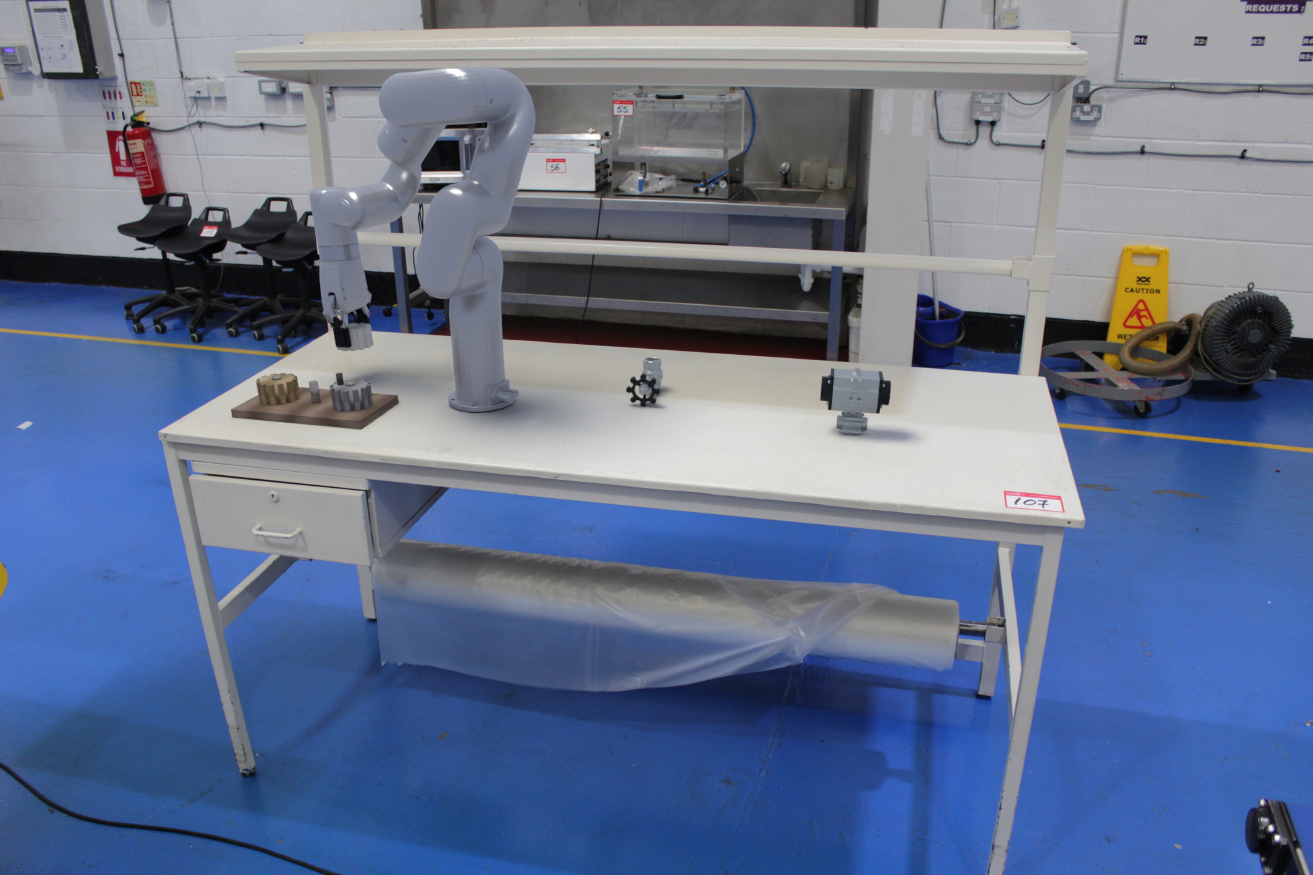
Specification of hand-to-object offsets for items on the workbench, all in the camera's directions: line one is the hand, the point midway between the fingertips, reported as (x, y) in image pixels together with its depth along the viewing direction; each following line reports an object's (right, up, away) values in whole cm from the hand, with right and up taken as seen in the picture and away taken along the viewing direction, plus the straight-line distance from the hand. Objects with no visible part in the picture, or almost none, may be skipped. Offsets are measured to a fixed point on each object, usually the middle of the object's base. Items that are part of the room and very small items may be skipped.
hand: (354, 341), depth 177 cm
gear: (0, -1, 0) cm, 1 cm away
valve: (+59, -12, -4) cm, 61 cm away
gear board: (-3, -14, -12) cm, 19 cm away
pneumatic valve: (+96, -19, -21) cm, 100 cm away
